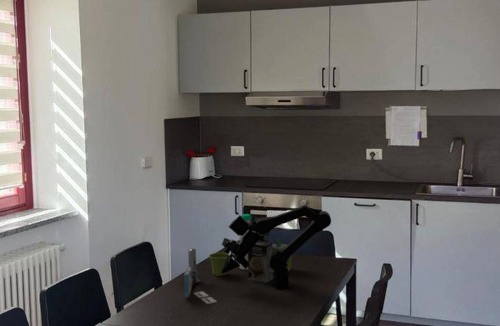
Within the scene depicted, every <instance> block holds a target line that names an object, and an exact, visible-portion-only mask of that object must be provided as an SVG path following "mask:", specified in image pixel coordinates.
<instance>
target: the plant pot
mask: <svg viewBox="0 0 500 326" xmlns="http://www.w3.org/2000/svg"><path fill="white" fill-rule="evenodd" d="M226 254H227V253H226V252H213V253H210V254H209V255H208V258H209V261H210V262H211V263H210V264H211V271H212V275H213V276H215V277H222V276H227V273H228V272H226V273H222V272H221V270H222V268H223V266H224V264H225V262H226Z"/></svg>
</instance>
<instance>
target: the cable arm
mask: <svg viewBox="0 0 500 326" xmlns="http://www.w3.org/2000/svg"><path fill="white" fill-rule="evenodd" d="M193 281H194V277H191V267H189V266H187V267H186V269H185V271H184V273H183V284H184V285H183V287H184V292H183V293H184V298H190V294H191V292H192V287H193V284H194V283H193Z"/></svg>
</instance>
